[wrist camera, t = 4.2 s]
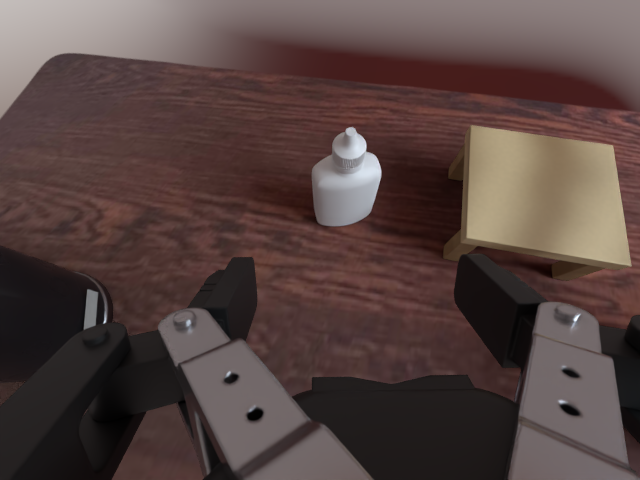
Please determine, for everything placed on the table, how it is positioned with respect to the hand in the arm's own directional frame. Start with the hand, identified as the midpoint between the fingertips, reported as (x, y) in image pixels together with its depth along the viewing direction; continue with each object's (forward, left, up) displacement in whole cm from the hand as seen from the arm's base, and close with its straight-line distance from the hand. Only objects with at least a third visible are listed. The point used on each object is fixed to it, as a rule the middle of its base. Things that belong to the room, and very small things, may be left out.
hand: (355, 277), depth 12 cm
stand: (+14, +13, -17) cm, 26 cm away
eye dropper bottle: (-2, +11, -17) cm, 21 cm away
